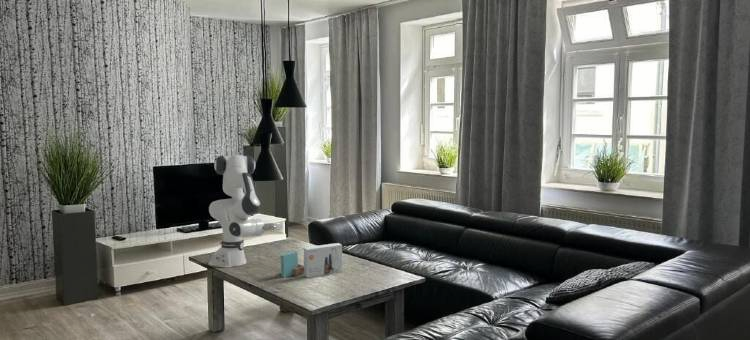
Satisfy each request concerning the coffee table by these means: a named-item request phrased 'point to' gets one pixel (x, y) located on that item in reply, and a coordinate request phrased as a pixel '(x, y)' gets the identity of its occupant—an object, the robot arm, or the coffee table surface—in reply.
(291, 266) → the teal rectangular block
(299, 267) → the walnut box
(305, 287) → the coffee table surface
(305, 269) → the skincare box
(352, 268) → the coffee table surface
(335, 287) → the coffee table surface
